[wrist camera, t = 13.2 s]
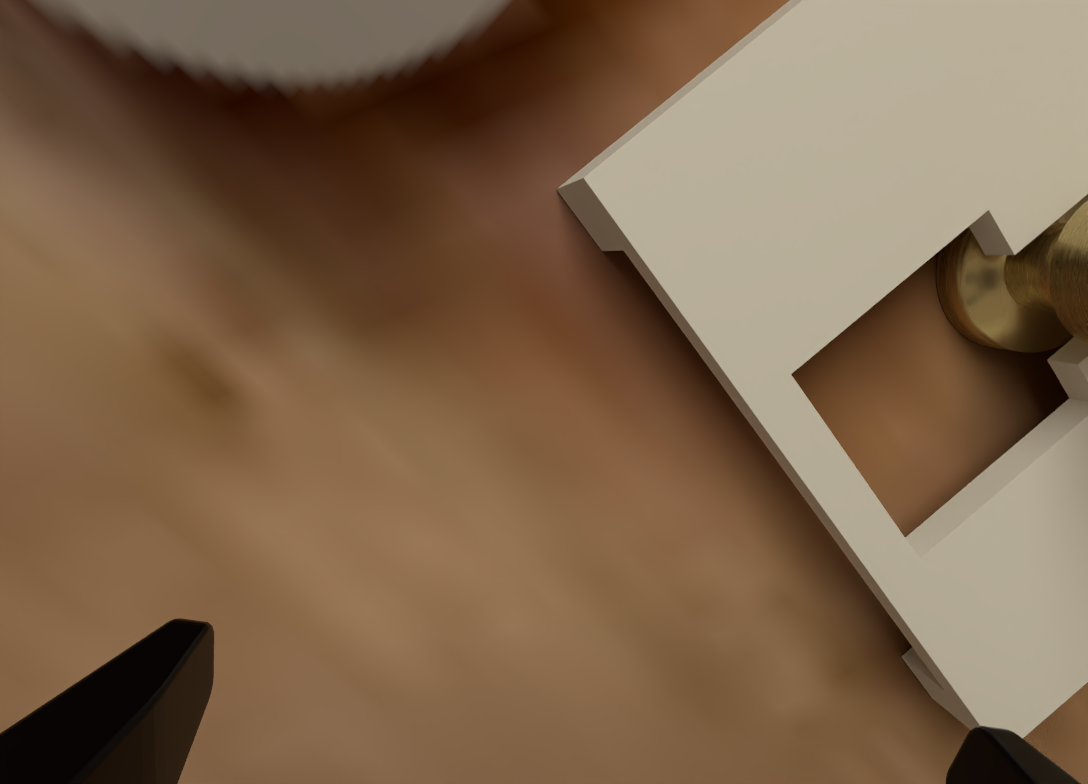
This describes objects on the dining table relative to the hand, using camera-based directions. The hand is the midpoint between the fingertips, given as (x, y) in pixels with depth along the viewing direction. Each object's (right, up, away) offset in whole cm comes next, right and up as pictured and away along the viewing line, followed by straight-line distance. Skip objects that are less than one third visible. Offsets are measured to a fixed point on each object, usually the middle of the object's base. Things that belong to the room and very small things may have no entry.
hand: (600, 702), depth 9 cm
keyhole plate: (+12, +6, +14) cm, 19 cm away
